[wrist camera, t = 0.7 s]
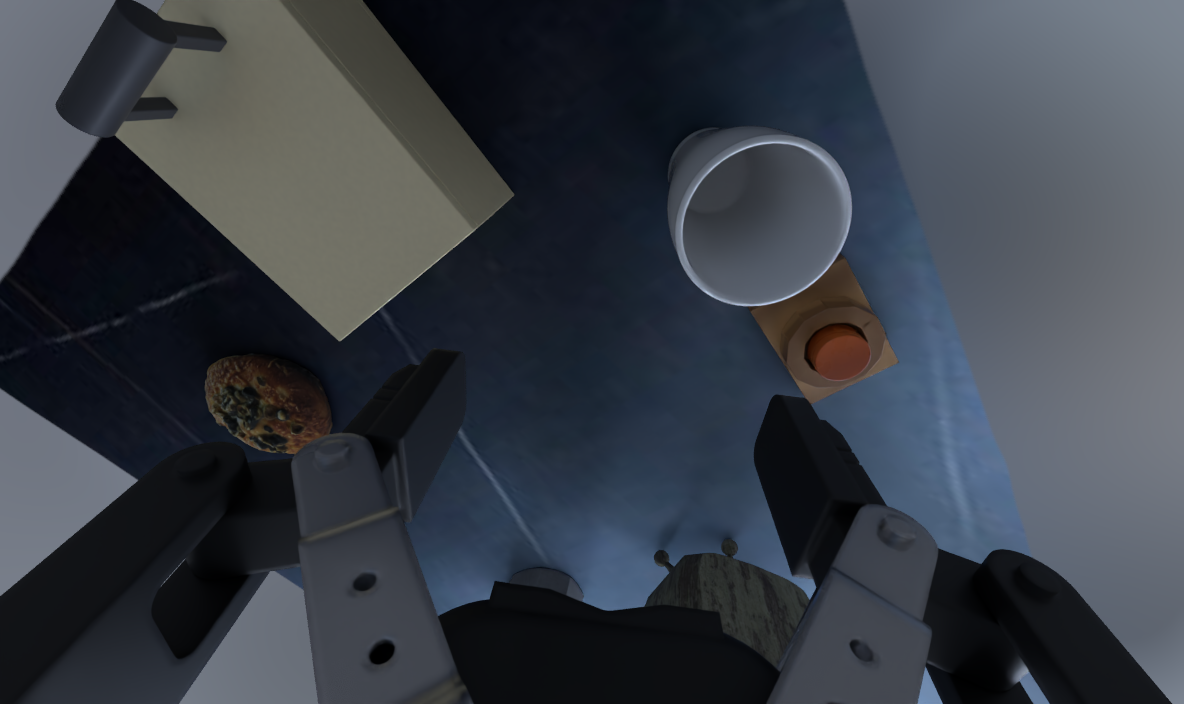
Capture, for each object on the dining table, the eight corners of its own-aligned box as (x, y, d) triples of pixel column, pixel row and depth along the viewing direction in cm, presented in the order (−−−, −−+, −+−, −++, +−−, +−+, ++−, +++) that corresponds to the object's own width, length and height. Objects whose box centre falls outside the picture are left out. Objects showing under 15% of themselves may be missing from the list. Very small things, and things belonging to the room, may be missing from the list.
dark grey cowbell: (637, 554, 50) (642, 907, 29) (678, 501, 46) (720, 869, 24) (753, 596, 52) (840, 956, 31) (803, 549, 48) (945, 928, 26)
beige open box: (246, 118, 32) (123, 127, 24) (352, -13, 28) (245, -52, 20) (406, 284, 37) (346, 335, 29) (515, 194, 33) (479, 226, 25)
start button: (798, 341, 33) (806, 353, 32) (848, 314, 32) (858, 326, 30) (819, 376, 34) (828, 389, 33) (868, 352, 33) (879, 365, 32)
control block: (745, 302, 35) (756, 322, 32) (835, 249, 33) (856, 266, 30) (803, 393, 39) (817, 418, 36) (888, 351, 36) (912, 375, 33)
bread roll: (349, 385, 42) (312, 424, 38) (330, 452, 48) (296, 491, 44) (228, 323, 40) (175, 357, 36) (224, 401, 46) (179, 437, 42)
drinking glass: (741, 93, 29) (833, 94, 16) (772, 195, 31) (872, 270, 18) (640, 145, 30) (645, 185, 17) (677, 238, 33) (707, 332, 20)
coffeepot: (550, 546, 51) (513, 750, 35) (612, 587, 53) (604, 793, 38) (469, 602, 57) (407, 796, 41) (528, 636, 60) (491, 831, 44)
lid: (107, 113, 24) (-24, 119, 19) (227, -72, 20) (100, -124, 15) (346, 336, 29) (291, 383, 24) (479, 226, 25) (443, 258, 20)
